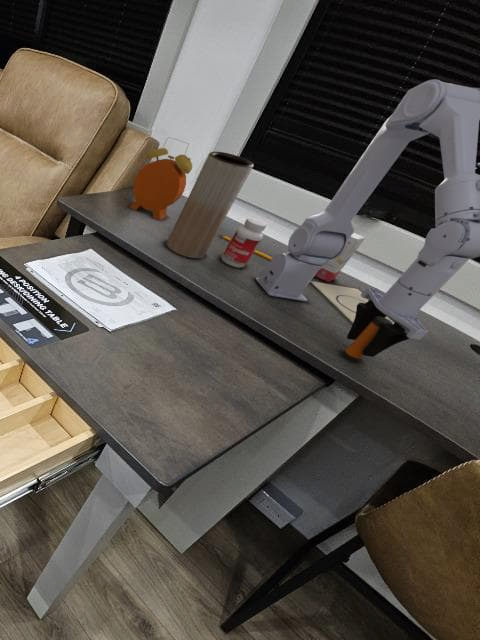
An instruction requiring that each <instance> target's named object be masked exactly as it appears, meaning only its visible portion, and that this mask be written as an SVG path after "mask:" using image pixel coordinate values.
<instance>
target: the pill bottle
mask: <svg viewBox="0 0 480 640" xmlns="http://www.w3.org/2000/svg"><path fill="white" fill-rule="evenodd" d="M243 224H244V225H242V226H239V227H238V228H237V229H236V230H235V233H234V234H233V236H232V237H231V241H229V243H228V244H227V246H226V247H225V250H224V251H223V253H222V255H221V257H220V258H221V261H222V262H224V263H225V264H227V265H228V266H231V267H234V268H240V269H241V268H244V267H246V265H247V263H248V262H249V260H250V259H251V258H252V256H253V254H255V253H254V251H255V250H256V249H257V248H258V246H259V245H260V243H261V242H262V240H263V237H264V234H263V233H262V232H264V231H265V229H266V227H267V223H266V222H265V221H263V220H261V219H259V218H255V217H247V218H246V220H245V221H244V223H243Z"/></svg>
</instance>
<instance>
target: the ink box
mask: <svg viewBox="0 0 480 640" xmlns="http://www.w3.org/2000/svg"><path fill="white" fill-rule="evenodd" d="M365 239H366V237H364V236H362V235H360V234H358V233H355V232H354V233H353V234H352V235H351V237H350V238H349V241H348V243H347V246H346V249H345V250H344V252H343V253H342V254H341V255H340V256H339V257H337V258H335V259H332V260H329V262H328V263H327V264H323V265H322V267H321V268H320V269H319V271H318V272H317V273H316V275H315V276H314V277H315V278H317V279H319V280H322V281H324V282H326V283H329V282H331V281H333V280H335V279H336V278H337V276H338V275H339V273H340V272H342V270H343V269H344V267H345V266H346V265H347V263H348V261H349V260H350V259H351V258H352V257H353V255H354V254H355V253H356V251H358V249H359V248H360V246H361V245H362V243H364V241H365Z"/></svg>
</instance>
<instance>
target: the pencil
mask: <svg viewBox="0 0 480 640" xmlns="http://www.w3.org/2000/svg"><path fill="white" fill-rule="evenodd" d="M221 239H223V240H225V241H228V242H230V241H231V239H232V237H229V236H226V235H223V236H222V238H221ZM253 254H256V255H258V256H260V257H262V258H264V259H267V260H269V261H270V260H271V259H272V258H273V256H270V255H267V254H265V253H263V252H261V251H259V250H256V249H255V251H254V253H253Z"/></svg>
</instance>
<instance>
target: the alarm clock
mask: <svg viewBox="0 0 480 640" xmlns="http://www.w3.org/2000/svg"><path fill="white" fill-rule="evenodd" d="M169 139H173V140H176V141H180V142H183V143H185V144H187V147H186V150H185V152H184V154H178V155H176V156H173V155H170V154H169V151H168V149H167V148H165V144H166V143H167V141H168V139H166V140H165V142H164V143H163V146H162V147H160V148H159V147H158V146H155V149H153V150H150V151H149V152H148V153H147V155H146V160H151V159H153V158H155V159H156V160H153V161H151V162H149V163H148V164H145V165H144V166H142V167H141V168H140V170H139V171H138V173H137V174H136V176H135V178H134V181H133V185H132V190H133V191H132V192H133V197H134V199H135V201H133V203H132V204H131V205H130V206H129V208H130V209H132V210H134V211H136V210H139V209H141V208H143V209H144V210H147V211H151V212H152V218H153V219H155V220H158V221H161V220H163V219H165V218H166V217H167V211H168V210H167V209H168V207H170V206H173V205H174V204H175V203H176V202H178V201H179V199H180V198H181V197H182V195H183V194H184V192H185V189H186V186H187V175H188V174H190V173H191V171H192V169H193V163H192V160H191V157H188V156H187V155H186V153H187V151H188V148H189V145H190V143H187V142H185V141H183V140H180V139H177V138H174V137H171V136H169ZM165 155H168V156H167V158H161V159H159V157H162V156H165Z"/></svg>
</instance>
